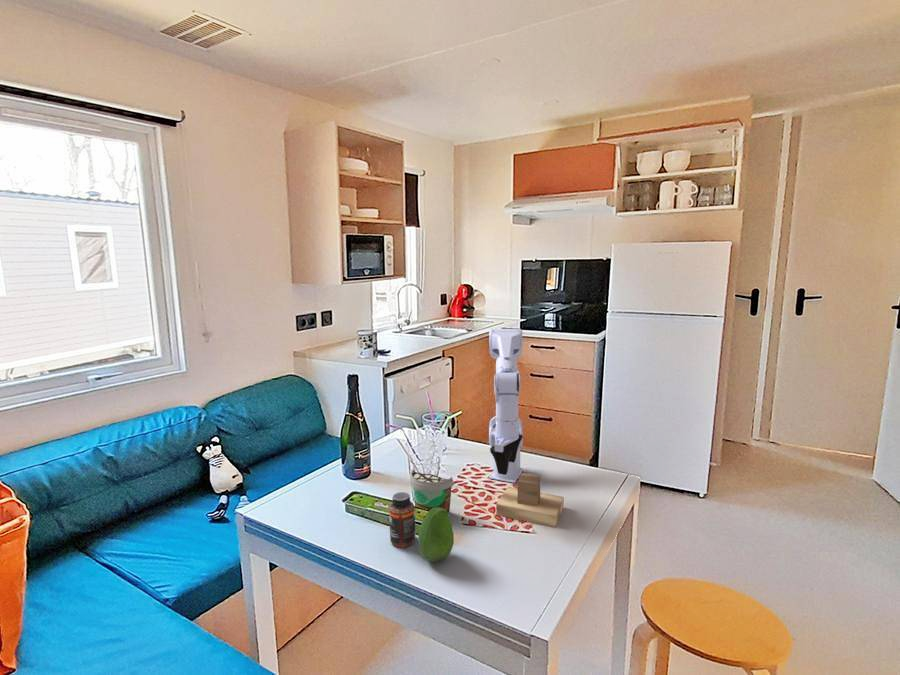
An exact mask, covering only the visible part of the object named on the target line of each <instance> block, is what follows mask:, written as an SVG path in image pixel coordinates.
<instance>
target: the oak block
mask: <svg viewBox="0 0 900 675" xmlns="http://www.w3.org/2000/svg"><path fill="white" fill-rule="evenodd" d="M517 497H518V487H512V486H507V488H506V489H505V491H504V492H503V493H502V495H501V496H500V498H499V499H498V501H497V502H496V510H495V511H496V512H495V513H496V514H495V516H498V517H499V516H500V517H505V518H509V519H515V520H519V521H523V522H529V523H532V524H533V523H534V524H537V525H543V526H546V527H547V526H548V527H552V528H556V527H557V524H558V521H559V519H560V517H561V514H562V512H563V509H564V499H565V496H560V495H556V494H555V495H554V494H550V493H545V492H540V499H539V502H538V506H531V505H524V504H517Z"/></svg>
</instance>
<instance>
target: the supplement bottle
mask: <svg viewBox="0 0 900 675" xmlns="http://www.w3.org/2000/svg"><path fill="white" fill-rule="evenodd" d="M391 498H392V502H391V503H390V504H389V506H388V516H389V517H388V520H389V537H390V538H389V539H390V543H391V544H392V545H393V546H394V547H398V548H406V547H410V546H411V545H413V544H414V542H415V541H416V536H417V535H416V514H415V513H416V509H415V503H413V502H412V501H411V495H410V494H409V493H408V492H405V491H399V492H395V493H394V494H393V495H392V497H391Z"/></svg>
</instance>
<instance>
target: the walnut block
mask: <svg viewBox="0 0 900 675" xmlns="http://www.w3.org/2000/svg"><path fill="white" fill-rule="evenodd" d="M541 478H542V476H541V474H540V475H539V474H532V473H524V472H522V473H521V474H520V476H519V477H518V479H517V488H518V497H517V504H524V505H531V506H538V502H539V499H540V493H541V480H542V479H541Z"/></svg>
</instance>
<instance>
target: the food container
mask: <svg viewBox="0 0 900 675" xmlns="http://www.w3.org/2000/svg"><path fill="white" fill-rule="evenodd" d="M408 482H409V484H410V486H411V487H412V492H413V500H414V507H415V506H416V507H419V508H422V509H425V510H431V509H432V508H444V509H445V510H446V511H447V513H448V514H449V513H450V511H451V510H450V508H451V501H452V500H451V498H452V487H453V486H454V485H455V483H454V479H453V476H451V477H449V478H444V477H440V476H439V475H438V476H437V475H435V474H430V473H420V472H416V469H415V468H413V469H412V471H411V472H410V475H409V481H408Z"/></svg>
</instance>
